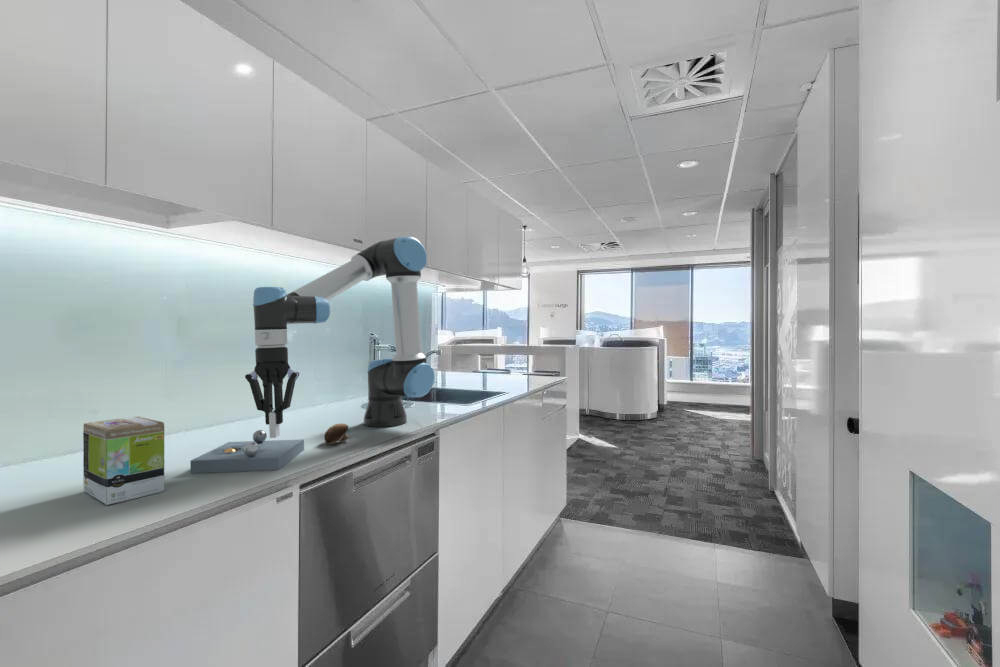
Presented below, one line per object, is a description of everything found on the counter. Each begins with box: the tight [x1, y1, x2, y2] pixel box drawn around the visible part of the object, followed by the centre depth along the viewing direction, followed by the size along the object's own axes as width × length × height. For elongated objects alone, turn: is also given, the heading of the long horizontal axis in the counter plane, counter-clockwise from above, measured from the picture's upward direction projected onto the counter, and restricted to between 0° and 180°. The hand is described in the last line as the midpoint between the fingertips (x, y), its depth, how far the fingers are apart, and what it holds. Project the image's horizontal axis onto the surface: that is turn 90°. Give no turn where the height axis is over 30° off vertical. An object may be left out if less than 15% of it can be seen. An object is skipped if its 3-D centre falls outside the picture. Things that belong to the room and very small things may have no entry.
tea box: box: [82, 416, 166, 506], centre depth 94 cm, size 15×10×15 cm, turn 56°
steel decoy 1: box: [244, 442, 260, 457], centre depth 109 cm, size 3×3×3 cm
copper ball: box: [224, 448, 236, 452], centre depth 115 cm, size 3×3×3 cm
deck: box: [189, 439, 305, 474], centre depth 116 cm, size 20×18×3 cm
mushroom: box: [323, 423, 350, 445], centre depth 133 cm, size 8×8×6 cm
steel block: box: [252, 429, 268, 443], centre depth 123 cm, size 3×3×3 cm
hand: (274, 436), depth 117 cm, fingers closed
